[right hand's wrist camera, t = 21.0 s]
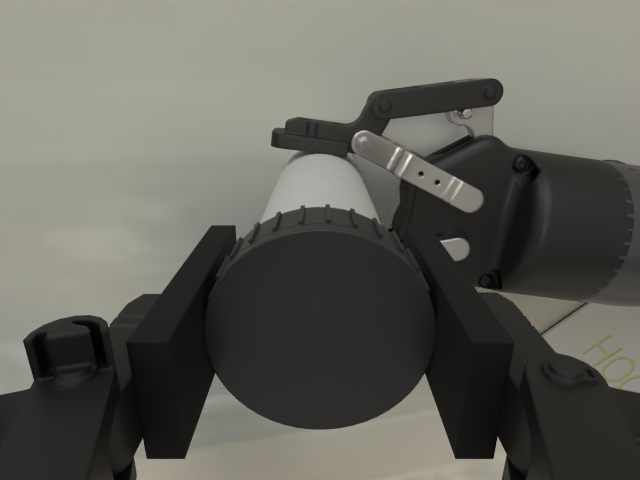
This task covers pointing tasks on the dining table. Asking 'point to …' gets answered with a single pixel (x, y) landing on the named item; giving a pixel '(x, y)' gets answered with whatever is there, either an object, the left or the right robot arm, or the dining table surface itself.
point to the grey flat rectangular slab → (602, 342)
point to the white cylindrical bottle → (319, 185)
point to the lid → (320, 319)
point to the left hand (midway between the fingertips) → (269, 189)
